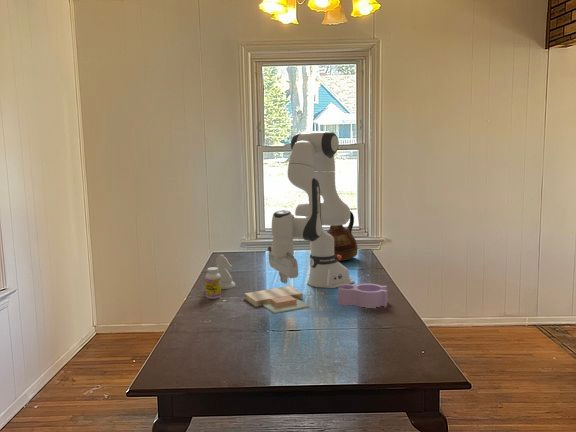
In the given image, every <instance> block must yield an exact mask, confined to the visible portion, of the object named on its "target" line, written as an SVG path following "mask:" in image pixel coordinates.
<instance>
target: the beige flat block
mask: <svg viewBox="0 0 576 432" xmlns="http://www.w3.org/2000/svg"><path fill="white" fill-rule="evenodd" d="M303 295H304V294H303V292H301V291H299V290H298V289H296V288H294V287H293V286H290V285H287V286H283V287H282V286H281V287H277V288H276V287H275V288H269V289H263V290H258V291H257V290H256V291H251V292H244V300H246V301H247V302H249V304H251V305H253V306H254V307H255V308H257V307H264V306H263V304H267V303H271V299H272V298H278V297H284V296H292V297H293V298H297V299H299V300H301V299H303Z"/></svg>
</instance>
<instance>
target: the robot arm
mask: <svg viewBox="0 0 576 432" xmlns="http://www.w3.org/2000/svg"><path fill="white" fill-rule="evenodd" d="M339 146H340V145H339V137H338V135H336V133H335V132H333V131H328V130H326V131H321V130H319V131H318V130H317V131H316V130H313V131H308V132H297V133H296V134H294V135H293V136H292V137H291V139H290V149H291V151H290V152H291V153H290V156H289V159H288V164H287V165H288V166H287V178H288V180H289V182H290V183H291V184H292V185H293V186H295V187H296V188H298V189H300V190H303V192H305V193H306V194H307V196H308V201H305V202H300V203H299V204H298V205H297V206H296V208H295V210H294V214H292V212H291V211H290V210H288V209H282V210H277V211H274V213H273V214H272V217H271V235H272V241H271V245H268V246H267V252H268V263H269V266H270V268H272V269H274V270H276V271H278V275H279V280H280V282H281V283H282V284H287V283H288V278H289V279H295V278H298V277H299V265H298V261H297V259H296V258H295V256H294V254H295V252H294V251H295V249H294V244H295V243H294V239H297V240H304V241H309V243H310V253H309V265H310V268H309V273H308V275H309V276H308V279H307V284H308V285H309V286H311V287H315V288H326V289H336V288H339V285H342V284H351V285H352V284H353V283H355V280H354V278H352V277H351V276H350V270H349V269H348V268H347V267H346V266H344V265H343V264H342V263H341V262H340V261H337V259H339V260H340V259H341V257H342V256H341V255H336V254H334V238H333V237H332V235H330V234H329V233H327V231H325V230H324V228H323V226H329V227H330V226H338V225H343V226H345V225H346V224H348V222H350V211H351V210H350V207H349V205H348V204H347V203H345V202H344V201H343V200H342V199H341V198H340V196H339V194H338V191H337V187H336V163H335V156H334V155H336V153H337V152H338V149H339ZM321 197H322V199H323V201H321Z"/></svg>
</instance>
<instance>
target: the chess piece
mask: <svg viewBox="0 0 576 432" xmlns="http://www.w3.org/2000/svg"><path fill="white" fill-rule="evenodd" d="M215 267H217V268H218V273H219V274H220V275H221V290H229V289H234V288H235V287H236V283H235V281H233V276H232V275H231V274H230V272H232V270H233V265H232V264H230V262H229V260H228V258H227V257H225V255H224V254H219V255H218V256H217V257H216V259H215Z"/></svg>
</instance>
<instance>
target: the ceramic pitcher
mask: <svg viewBox="0 0 576 432" xmlns="http://www.w3.org/2000/svg"><path fill="white" fill-rule="evenodd" d="M354 224H355V216H354V214H353V212H352V211H351V210H350V219H349V223H348V225H347V227H344V225H338V226H329V229H327V231H326V232H327V233H329V234H330V235H332V237H333V238H334V254H336V255H341V256H342V257H341V259H340V260H339V259H337V261H338V262H340V261H345V260H346V261H348V260H350V259H353V258H354V257H356V256H357V255H358V244H357V241H356V238H355V237H354V235H353V233H352V231H353V227H354Z"/></svg>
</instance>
